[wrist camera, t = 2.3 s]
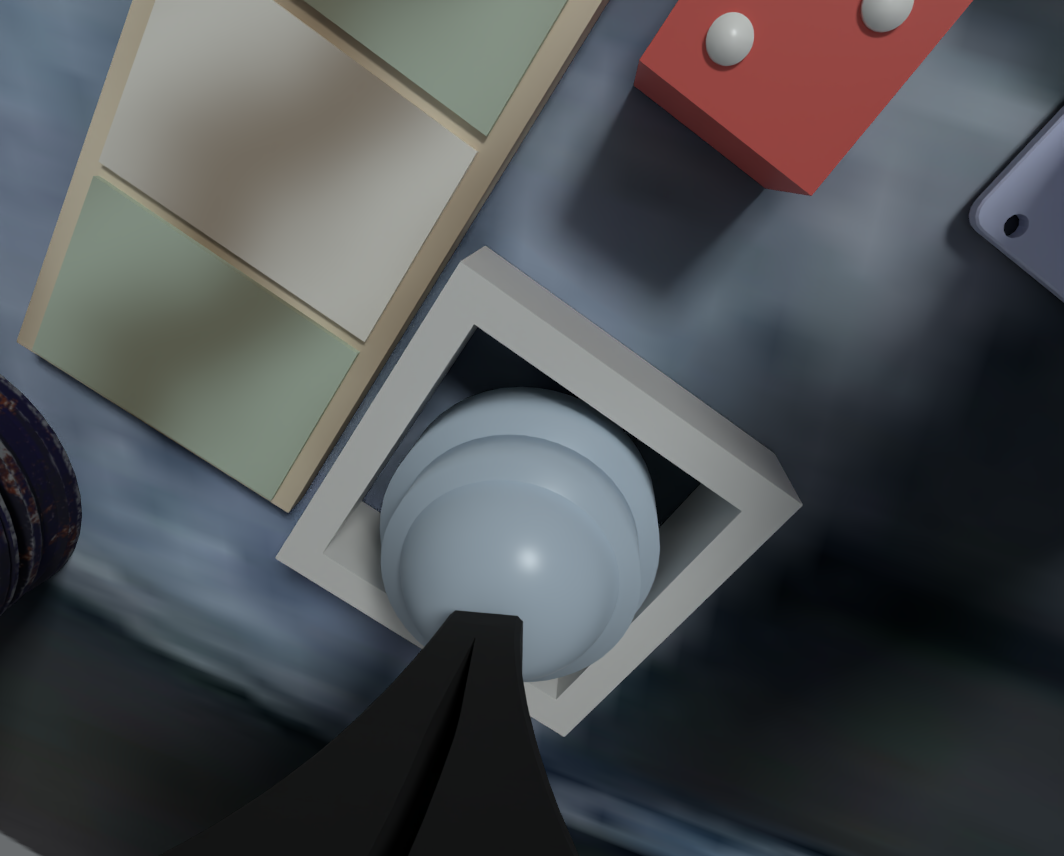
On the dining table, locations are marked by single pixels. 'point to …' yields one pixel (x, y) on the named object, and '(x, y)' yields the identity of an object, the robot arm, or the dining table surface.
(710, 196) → the dining table surface
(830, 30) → the red die
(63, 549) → the storage jar
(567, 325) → the dome housing
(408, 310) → the track board
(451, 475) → the dome
